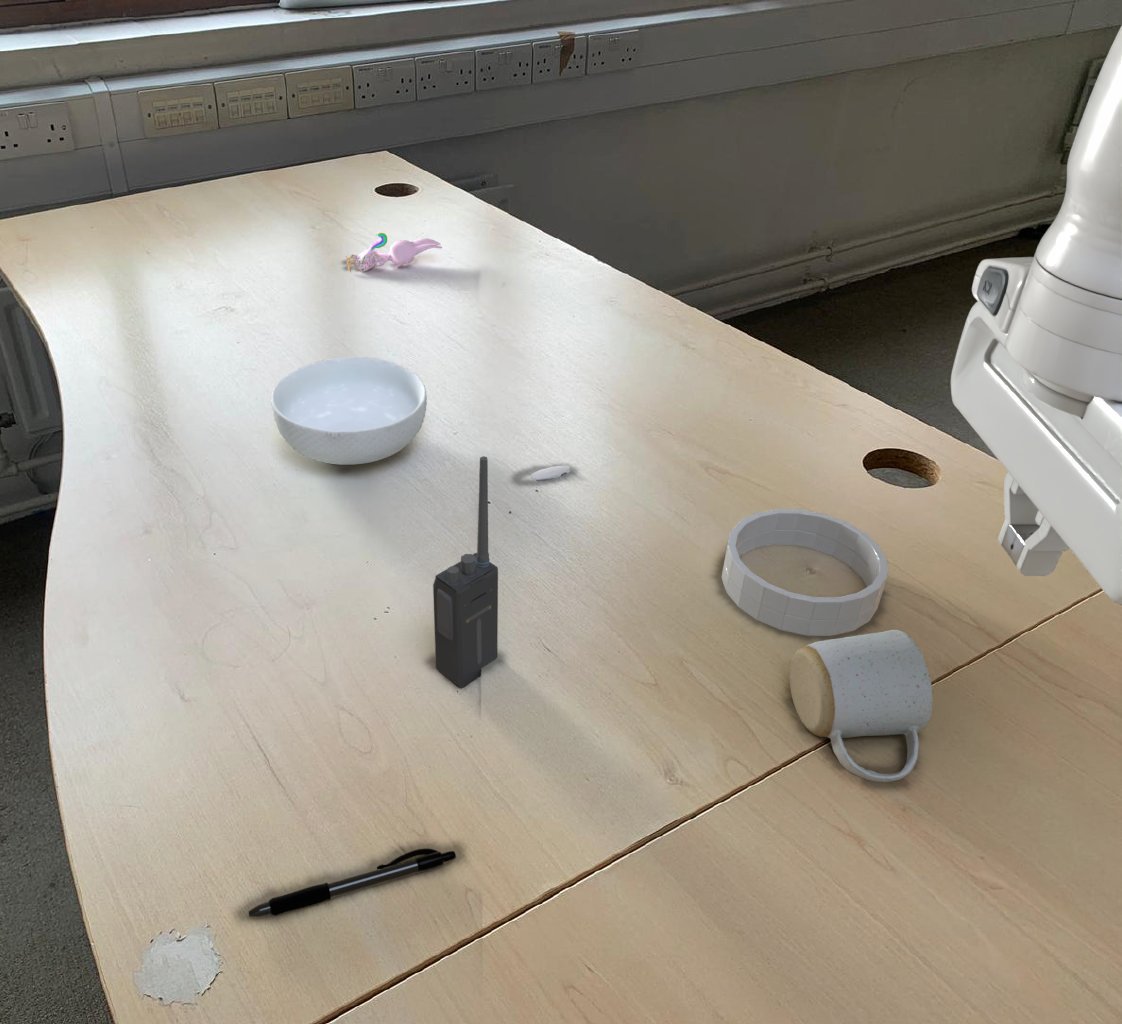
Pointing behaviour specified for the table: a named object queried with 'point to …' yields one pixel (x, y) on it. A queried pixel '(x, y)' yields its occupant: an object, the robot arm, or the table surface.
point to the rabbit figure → (390, 253)
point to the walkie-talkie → (468, 605)
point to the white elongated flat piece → (550, 473)
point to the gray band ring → (796, 608)
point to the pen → (354, 882)
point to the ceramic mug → (863, 692)
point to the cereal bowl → (349, 409)
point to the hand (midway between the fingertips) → (1022, 559)
